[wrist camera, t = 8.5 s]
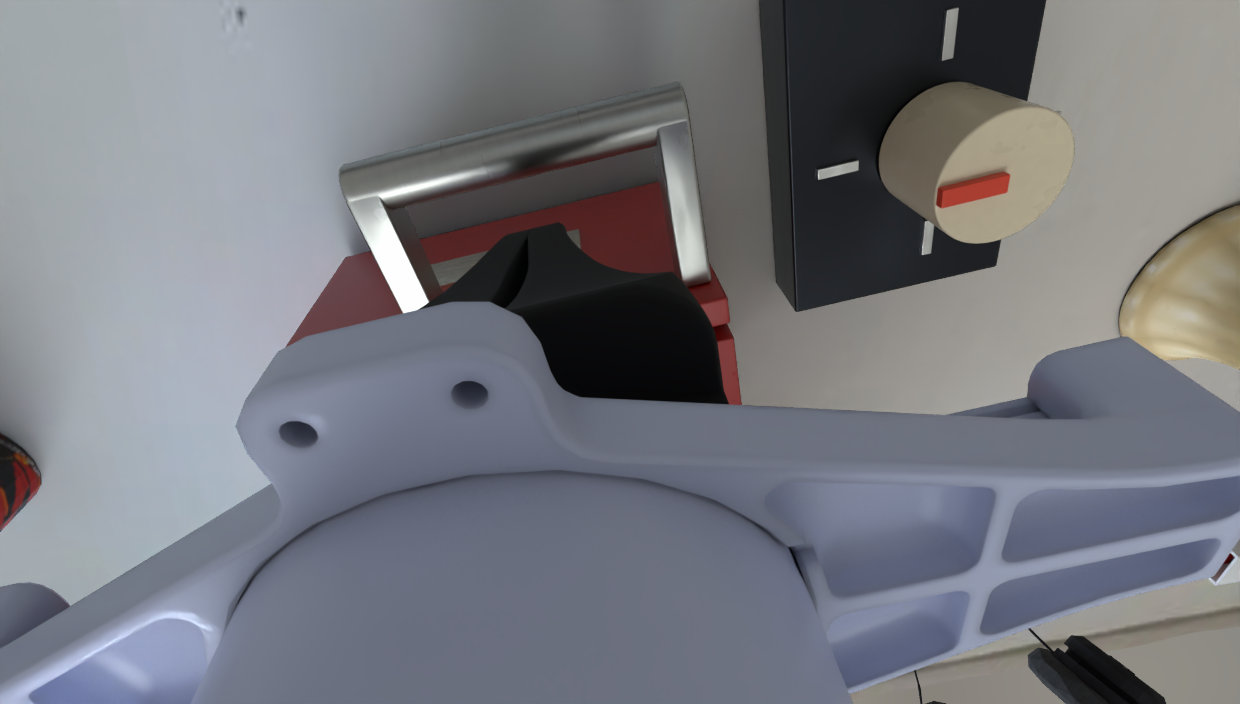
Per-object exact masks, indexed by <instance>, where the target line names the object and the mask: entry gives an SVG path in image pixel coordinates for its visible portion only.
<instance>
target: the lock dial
mask: <svg viewBox="0 0 1240 704" xmlns="http://www.w3.org/2000/svg"><path fill="white" fill-rule="evenodd" d="M1074 150H1075V144H1074V137H1073V134H1072V130H1071V128H1070V127H1069V125H1068V123H1067V122H1066V120H1065V119H1064V118H1063V117H1062V116H1061V115H1060V114H1058V113H1057V112H1055V111H1053V110H1051V109H1049V108H1046V107H1043V106H1040V105H1037V104H1034V103H1030V102H1027V101H1024V100H1021V99H1018V98H1015V97H1012V96H1009V95H1005V94H1002V93H999V92H996V91H993V90H990V89H987V88H984V87H980V86H977V85H974V84H971V83H967V82H950V83H944V84H941V85H938V86H935V87H933V88H931V89H928V90H926V91H925V92H923V93H921V94H920V95H918V96H917V97H915V98H914V99H913V100H911V101H910V102H909V103H908V104H907V105H906V106H905V107H904V108H903V109H902V110H901V111H900V112H899V113H898V115H897V116H896V117H895V119H894V120H893V121H892V123H891V125H890V126H889V128H888V130H887V132H886V134H885V136H884V139H883V142H882V144H881V149H880V154H879V170H880V176H881V179H882V182H883V183H884V185H885V187H886V188H887V190H888V191H889V192H890V193H891V194H892V195H893V196H895V197H896V198H897V199H899V200H900V201H901V202H903V203H904V204H906V205H907V206H908V207H910V208H911V209H913V210H914V211H915V212H917V213H918V214H920V215H921V216H922V217H924V218H925V219H926V220H928V221H929V222H931V223H932V224H933V225H935V226H936V227H938V228H939V229H940V230H942V231H943V232H945V233H946V234H947V235H949V236H950V237H952V238H954V239H956V240H958V241H961V242H966V243H976V244H977V243H988V242H993V241H997V240H1000V239H1003V238H1005V237H1008V236H1010V235H1012V234H1014V233H1016V232H1018V231H1020V230H1021V229H1023V228H1024V227H1026V226H1028V225H1029V224H1030V223H1032V222H1033V221H1034V220H1035V219H1037V218H1038V217H1039V216H1040V215H1041V214H1042V213H1043V212H1044V211H1045V210H1046V209H1047V208H1048V207H1049V206H1050V205H1051V203H1052V202H1053V201H1054V200H1055V198H1056V197H1057V196H1058V194H1059V193H1060V191H1061V190H1062V188H1063V186H1064V184H1065V182H1066V180H1067V178H1068V176H1069V173H1070V171H1071V167H1072V164H1073V159H1074Z"/></svg>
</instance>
